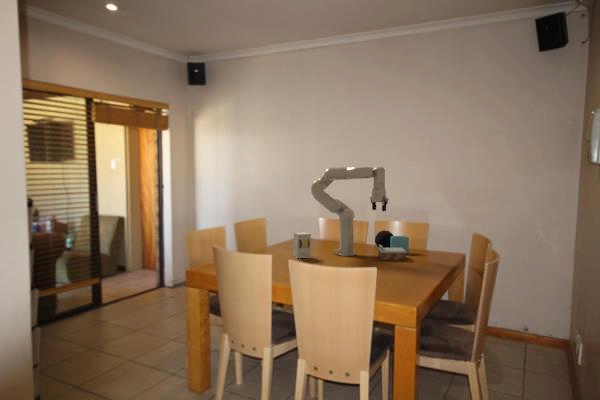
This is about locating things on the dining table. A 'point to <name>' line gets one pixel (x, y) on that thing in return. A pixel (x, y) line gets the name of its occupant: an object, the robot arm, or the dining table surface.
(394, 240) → the data package
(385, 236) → the decorative orb
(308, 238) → the supplement box
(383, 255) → the box
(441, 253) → the dining table surface
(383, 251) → the cover plate
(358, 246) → the dining table surface
